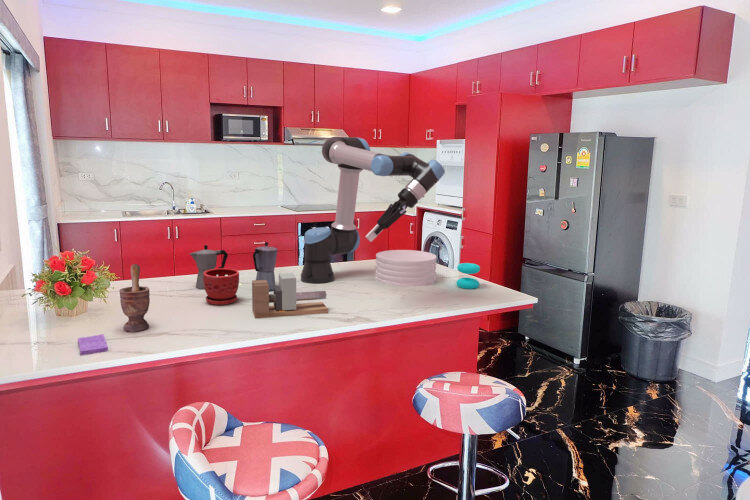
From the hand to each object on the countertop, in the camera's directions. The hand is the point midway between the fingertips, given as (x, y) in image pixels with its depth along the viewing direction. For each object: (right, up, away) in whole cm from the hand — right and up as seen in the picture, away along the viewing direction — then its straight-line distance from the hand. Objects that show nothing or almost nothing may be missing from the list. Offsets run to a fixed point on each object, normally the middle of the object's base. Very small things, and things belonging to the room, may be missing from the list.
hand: (368, 239), depth 193 cm
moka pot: (-44, -21, +26) cm, 55 cm away
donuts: (+44, -21, +38) cm, 62 cm away
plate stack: (+17, -18, +50) cm, 56 cm away
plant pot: (-56, -24, +6) cm, 61 cm away
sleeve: (-29, -25, -5) cm, 38 cm away
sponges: (-80, -33, -41) cm, 96 cm away
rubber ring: (-32, -25, -6) cm, 41 cm away
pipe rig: (-28, -26, -4) cm, 39 cm away
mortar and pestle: (-75, -29, -24) cm, 84 cm away
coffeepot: (-68, -20, +28) cm, 76 cm away
